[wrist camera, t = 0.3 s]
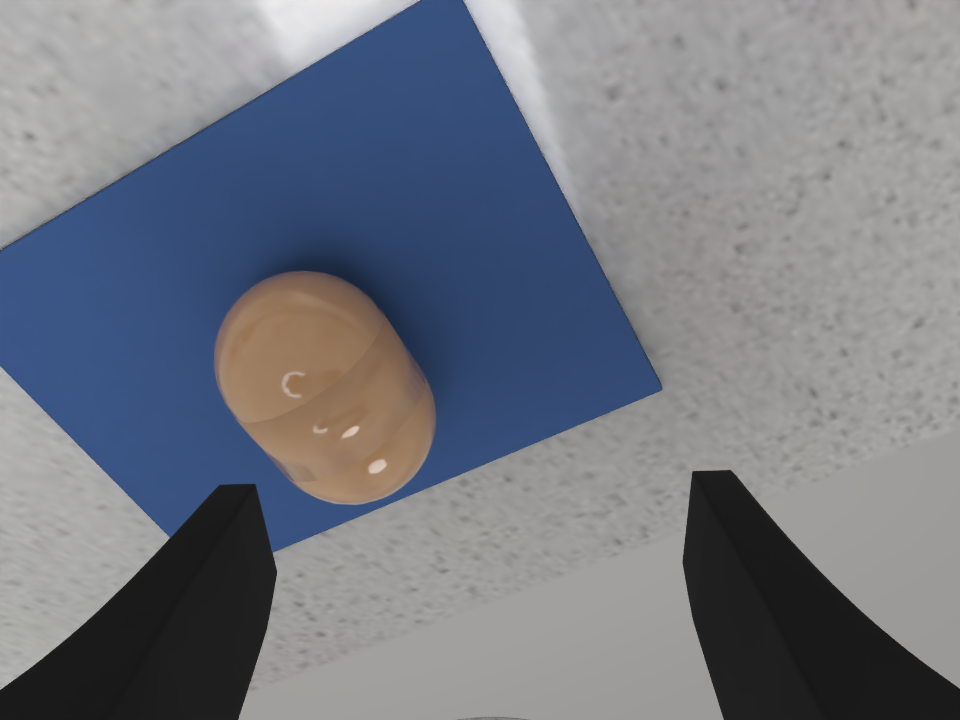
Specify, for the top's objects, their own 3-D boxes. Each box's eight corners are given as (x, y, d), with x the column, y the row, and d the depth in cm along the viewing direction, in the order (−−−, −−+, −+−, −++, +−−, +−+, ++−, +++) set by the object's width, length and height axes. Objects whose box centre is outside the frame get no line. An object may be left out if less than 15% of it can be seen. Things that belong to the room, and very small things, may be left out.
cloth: (213, 572, 28) (210, 579, 28) (-66, 289, 23) (-72, 294, 22) (661, 384, 24) (663, 390, 24) (453, -20, 19) (452, -18, 18)
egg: (469, 398, 24) (465, 503, 20) (340, 455, 25) (313, 564, 21) (345, 211, 21) (313, 293, 17) (205, 286, 22) (147, 377, 18)
